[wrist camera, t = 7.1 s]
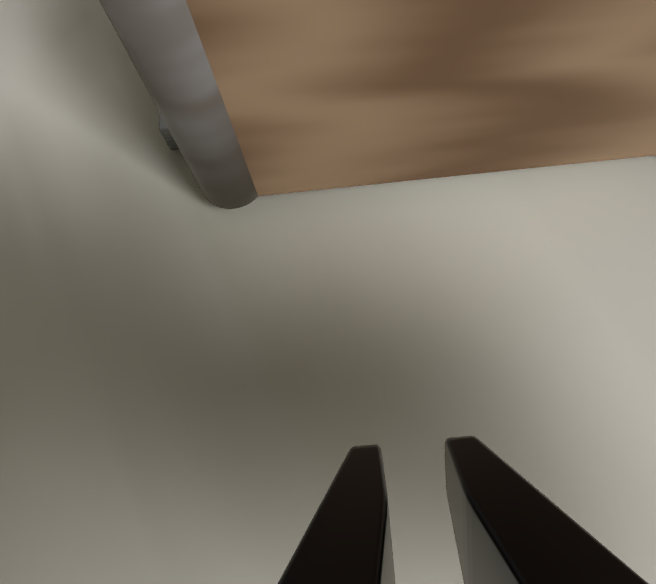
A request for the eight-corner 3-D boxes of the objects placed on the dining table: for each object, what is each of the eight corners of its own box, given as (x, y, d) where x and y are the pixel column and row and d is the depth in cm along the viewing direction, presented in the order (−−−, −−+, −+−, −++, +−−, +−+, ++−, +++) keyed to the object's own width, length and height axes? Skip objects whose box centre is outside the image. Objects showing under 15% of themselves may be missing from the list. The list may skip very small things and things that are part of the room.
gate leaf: (730, 97, 16) (1093, -331, 8) (751, 155, 16) (1168, -246, 8) (200, 154, 17) (32, -192, 9) (200, 211, 16) (20, -100, 8)
